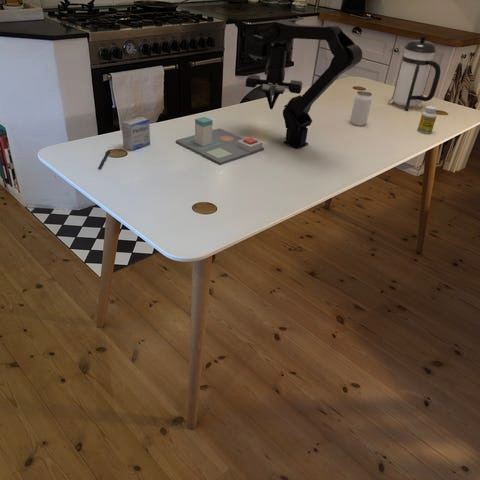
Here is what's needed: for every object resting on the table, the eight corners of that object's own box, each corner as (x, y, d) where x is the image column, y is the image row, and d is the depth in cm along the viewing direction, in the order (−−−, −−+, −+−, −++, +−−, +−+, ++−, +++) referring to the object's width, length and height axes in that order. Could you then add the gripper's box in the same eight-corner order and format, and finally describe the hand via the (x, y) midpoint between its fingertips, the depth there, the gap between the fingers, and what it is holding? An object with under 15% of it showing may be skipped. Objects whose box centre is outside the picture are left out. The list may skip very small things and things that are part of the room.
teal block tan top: (211, 143, 155) (212, 120, 150) (202, 146, 152) (203, 122, 148) (203, 139, 157) (204, 116, 153) (194, 142, 154) (195, 119, 150)
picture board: (264, 149, 155) (264, 142, 154) (220, 164, 143) (220, 157, 141) (219, 130, 168) (219, 123, 166) (175, 142, 155) (175, 135, 154)
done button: (256, 145, 154) (256, 140, 153) (249, 148, 152) (250, 142, 151) (249, 142, 156) (250, 137, 155) (242, 145, 154) (243, 139, 153)
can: (365, 121, 187) (371, 91, 180) (367, 127, 181) (374, 96, 175) (349, 119, 187) (355, 90, 180) (350, 125, 182) (357, 94, 175)
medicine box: (132, 151, 147) (130, 125, 142) (123, 147, 149) (120, 121, 144) (150, 144, 152) (149, 119, 148) (141, 141, 155) (139, 115, 150)
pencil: (97, 170, 135) (108, 150, 147) (101, 170, 135) (111, 150, 147) (97, 168, 134) (108, 147, 147) (100, 168, 134) (111, 148, 147)
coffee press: (387, 109, 203) (405, 35, 186) (388, 99, 216) (405, 29, 199) (428, 115, 199) (450, 40, 183) (427, 105, 212) (447, 34, 196)
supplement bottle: (429, 129, 184) (436, 105, 178) (433, 134, 179) (440, 110, 174) (415, 128, 184) (422, 104, 179) (418, 133, 179) (426, 108, 174)
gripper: (306, 60, 158) (300, 105, 167) (253, 54, 161) (249, 98, 170) (303, 68, 149) (296, 115, 158) (247, 61, 152) (243, 108, 160)
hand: (271, 109), depth 162 cm, fingers closed
